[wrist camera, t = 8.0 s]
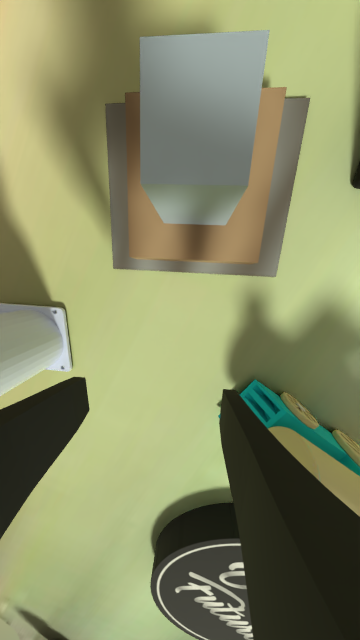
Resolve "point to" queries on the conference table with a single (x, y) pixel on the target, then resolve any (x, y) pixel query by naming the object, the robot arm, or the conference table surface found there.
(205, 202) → the block
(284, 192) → the base block
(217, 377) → the conference table surface
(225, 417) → the robot arm
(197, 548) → the wall sign
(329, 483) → the toy train
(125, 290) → the conference table surface
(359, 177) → the battery
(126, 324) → the conference table surface
